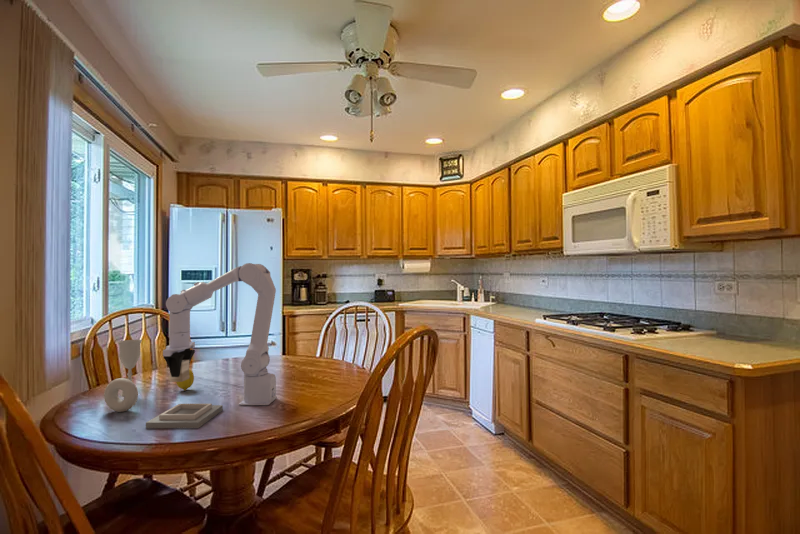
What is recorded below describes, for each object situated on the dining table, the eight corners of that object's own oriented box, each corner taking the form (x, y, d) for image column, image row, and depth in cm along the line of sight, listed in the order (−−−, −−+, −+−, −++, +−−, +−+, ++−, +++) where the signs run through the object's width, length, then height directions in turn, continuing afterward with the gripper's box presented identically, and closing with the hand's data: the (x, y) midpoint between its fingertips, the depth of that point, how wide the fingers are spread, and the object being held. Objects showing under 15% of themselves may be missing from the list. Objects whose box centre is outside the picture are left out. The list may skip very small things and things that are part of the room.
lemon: (186, 393, 138) (186, 369, 138) (172, 392, 139) (172, 369, 139) (197, 388, 143) (197, 366, 143) (184, 387, 144) (184, 365, 144)
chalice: (112, 395, 135) (112, 342, 136) (132, 390, 142) (132, 339, 142) (126, 397, 133) (127, 343, 133) (146, 392, 139) (146, 340, 139)
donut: (100, 413, 118) (101, 379, 118) (110, 409, 121) (110, 376, 122) (131, 414, 117) (132, 379, 117) (140, 410, 120) (141, 376, 120)
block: (189, 378, 129) (189, 359, 129) (182, 381, 125) (182, 362, 125) (176, 378, 129) (177, 359, 129) (169, 381, 125) (169, 362, 125)
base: (222, 410, 120) (222, 401, 120) (198, 428, 106) (198, 417, 106) (176, 410, 120) (176, 401, 120) (145, 428, 106) (145, 417, 106)
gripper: (180, 328, 135) (180, 369, 134) (153, 335, 120) (152, 380, 120) (201, 328, 135) (200, 369, 134) (176, 335, 120) (176, 380, 120)
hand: (179, 374), depth 127 cm, fingers closed on block, 4 cm apart
